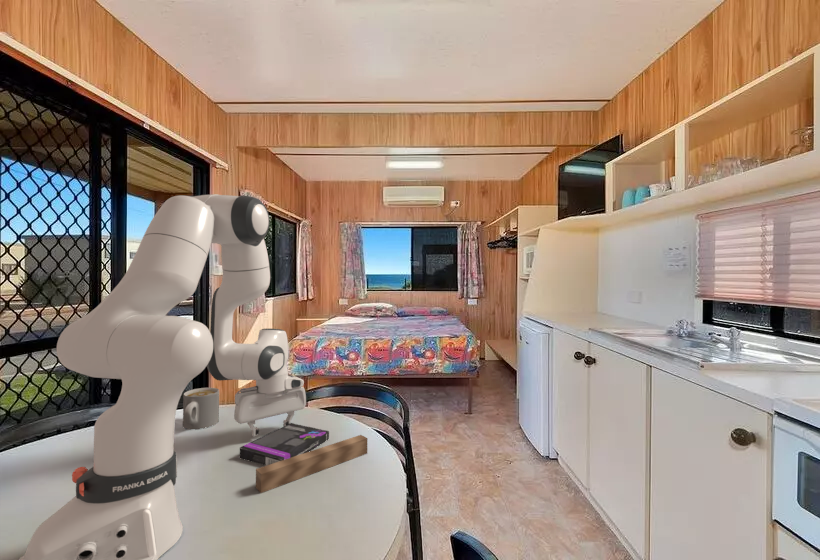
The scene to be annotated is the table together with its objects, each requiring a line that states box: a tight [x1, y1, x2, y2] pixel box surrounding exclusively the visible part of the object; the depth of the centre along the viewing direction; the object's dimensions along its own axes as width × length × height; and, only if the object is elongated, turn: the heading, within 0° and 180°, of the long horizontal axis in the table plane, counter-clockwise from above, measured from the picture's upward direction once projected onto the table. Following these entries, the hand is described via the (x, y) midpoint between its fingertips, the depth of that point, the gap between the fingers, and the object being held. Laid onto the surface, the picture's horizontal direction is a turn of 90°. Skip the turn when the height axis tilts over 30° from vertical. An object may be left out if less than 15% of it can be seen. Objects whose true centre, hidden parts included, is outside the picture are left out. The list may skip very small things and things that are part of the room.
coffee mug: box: [182, 387, 220, 430], centre depth 117 cm, size 13×10×10 cm
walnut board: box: [255, 434, 368, 494], centre depth 90 cm, size 28×3×4 cm, turn 133°
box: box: [239, 422, 330, 466], centre depth 101 cm, size 14×4×20 cm
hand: (271, 430), depth 109 cm, fingers open, 8 cm apart
